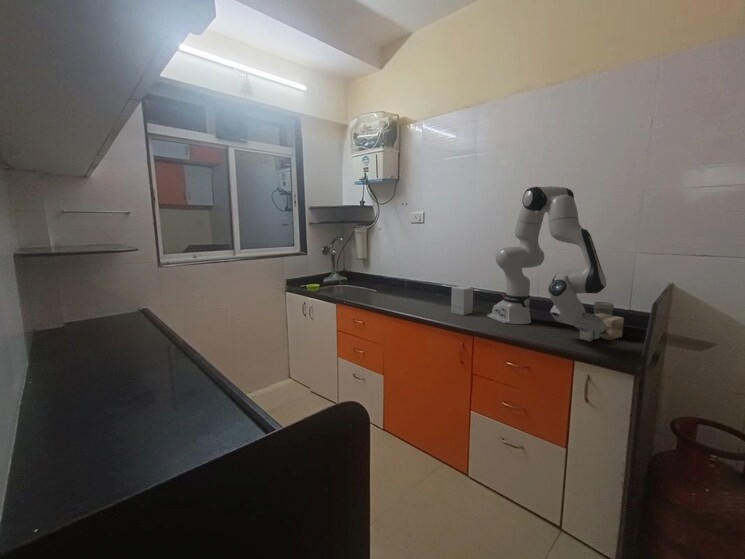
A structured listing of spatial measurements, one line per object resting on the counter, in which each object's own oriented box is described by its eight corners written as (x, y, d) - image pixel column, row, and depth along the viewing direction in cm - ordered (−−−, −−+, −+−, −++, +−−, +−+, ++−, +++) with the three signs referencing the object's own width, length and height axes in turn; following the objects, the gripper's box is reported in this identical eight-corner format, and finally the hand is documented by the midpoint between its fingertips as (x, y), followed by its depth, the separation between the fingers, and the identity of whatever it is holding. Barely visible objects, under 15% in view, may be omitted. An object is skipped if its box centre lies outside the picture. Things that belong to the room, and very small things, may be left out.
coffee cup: (607, 325, 170) (609, 301, 168) (615, 330, 162) (618, 305, 160) (588, 324, 172) (590, 301, 170) (595, 329, 164) (597, 304, 162)
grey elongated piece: (579, 338, 149) (581, 320, 148) (603, 332, 158) (604, 315, 157) (589, 341, 146) (591, 323, 144) (613, 335, 154) (615, 317, 153)
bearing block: (587, 334, 157) (588, 315, 155) (598, 331, 161) (600, 312, 160) (610, 340, 148) (612, 320, 147) (621, 337, 152) (624, 317, 151)
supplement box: (473, 313, 196) (473, 287, 194) (463, 315, 191) (464, 289, 188) (460, 310, 203) (460, 285, 201) (450, 312, 198) (451, 287, 195)
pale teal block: (581, 335, 151) (582, 324, 150) (586, 334, 152) (587, 322, 152) (594, 339, 146) (595, 327, 145) (599, 337, 148) (600, 325, 147)
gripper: (602, 310, 132) (614, 331, 138) (553, 300, 150) (565, 319, 156) (594, 323, 131) (606, 343, 137) (546, 311, 149) (558, 329, 155)
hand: (584, 330), depth 147 cm, fingers closed, pressing on grey elongated piece
